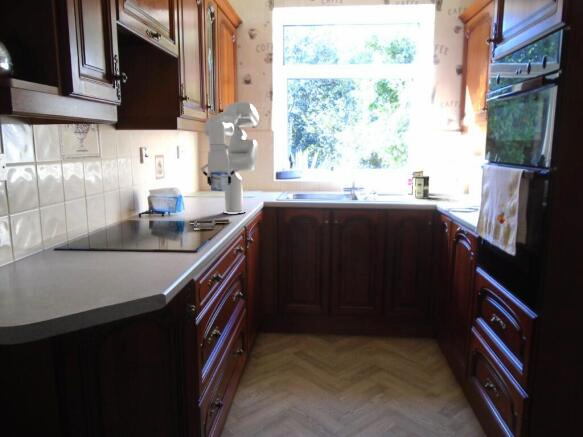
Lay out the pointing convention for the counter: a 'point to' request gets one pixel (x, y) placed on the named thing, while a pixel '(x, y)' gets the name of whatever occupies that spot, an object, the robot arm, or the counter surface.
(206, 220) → the door-edge strip
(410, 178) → the candy bar box
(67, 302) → the counter surface
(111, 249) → the counter surface
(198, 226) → the grey shallow tray
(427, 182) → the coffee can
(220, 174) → the medicine box
